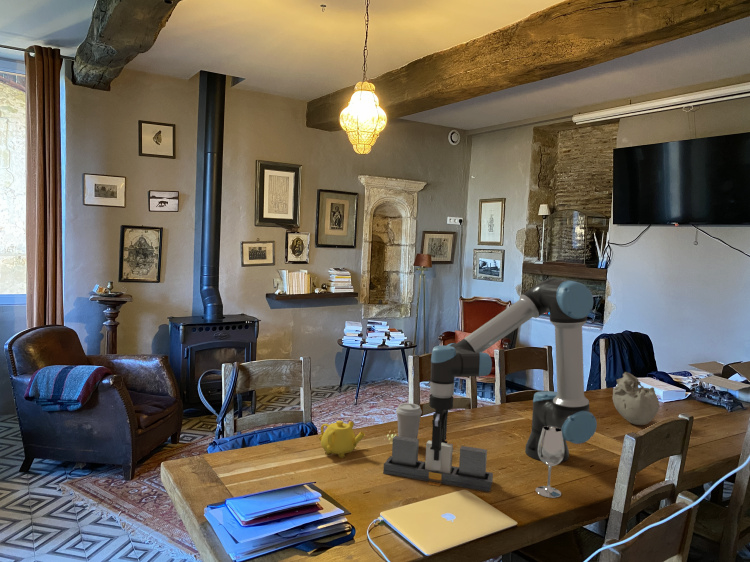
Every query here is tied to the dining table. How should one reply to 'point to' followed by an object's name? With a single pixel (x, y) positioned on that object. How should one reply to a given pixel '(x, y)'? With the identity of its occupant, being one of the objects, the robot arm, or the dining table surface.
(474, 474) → the rack
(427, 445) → the panel
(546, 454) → the wineglass
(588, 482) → the dining table surface
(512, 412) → the dining table surface
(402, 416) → the coffee cup
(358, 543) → the dining table surface
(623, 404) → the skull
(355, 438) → the teapot
